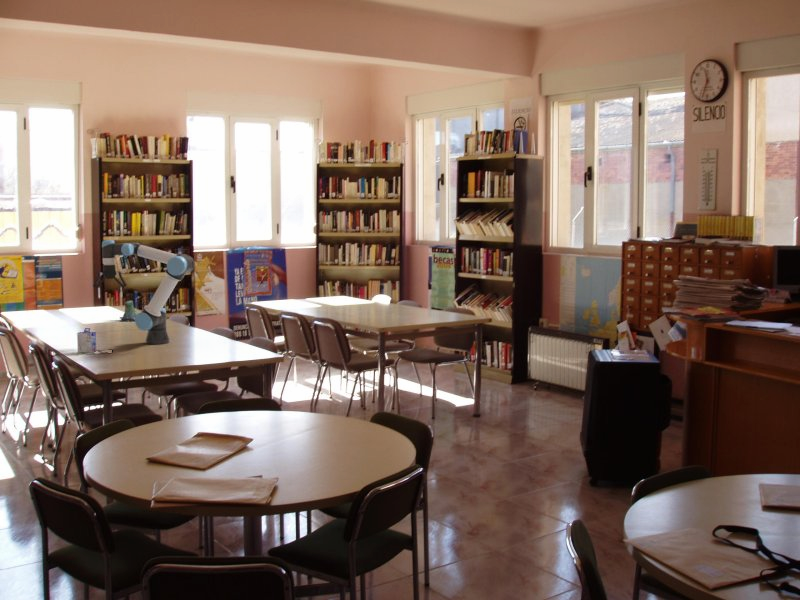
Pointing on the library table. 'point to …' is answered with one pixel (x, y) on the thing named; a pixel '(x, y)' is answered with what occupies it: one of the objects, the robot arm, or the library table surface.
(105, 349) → the board
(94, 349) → the ink cartridge box
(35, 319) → the library table surface
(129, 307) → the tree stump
